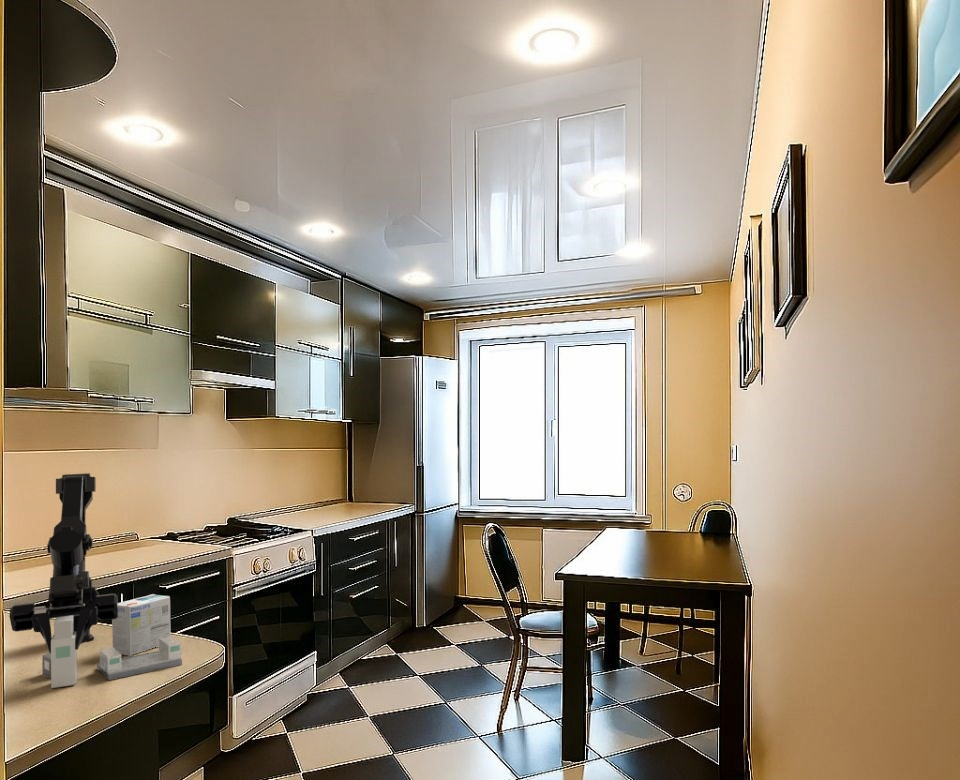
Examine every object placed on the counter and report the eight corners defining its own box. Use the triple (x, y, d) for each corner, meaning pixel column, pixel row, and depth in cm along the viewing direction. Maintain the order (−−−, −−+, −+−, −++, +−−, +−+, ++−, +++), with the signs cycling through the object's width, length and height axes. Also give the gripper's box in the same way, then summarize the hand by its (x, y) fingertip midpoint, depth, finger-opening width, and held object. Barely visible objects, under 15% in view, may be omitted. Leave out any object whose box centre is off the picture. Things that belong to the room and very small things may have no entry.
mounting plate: (97, 668, 154) (96, 646, 154) (167, 653, 163) (167, 633, 163) (108, 680, 146) (108, 658, 146) (182, 664, 155) (181, 643, 155)
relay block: (42, 675, 151) (42, 655, 152) (63, 669, 154) (63, 650, 155) (51, 680, 148) (51, 659, 148) (73, 674, 151) (73, 654, 151)
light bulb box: (153, 639, 174) (153, 593, 175) (172, 643, 171) (171, 595, 171) (110, 652, 165) (110, 603, 165) (129, 656, 162) (128, 606, 162)
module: (53, 680, 146) (53, 617, 147) (76, 677, 148) (76, 614, 148) (51, 688, 142) (50, 623, 142) (75, 684, 144) (74, 620, 144)
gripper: (10, 563, 146) (1, 635, 135) (116, 553, 153) (115, 620, 143) (16, 596, 152) (8, 666, 142) (118, 585, 160) (117, 651, 150)
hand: (63, 650), depth 144 cm, fingers closed on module, 4 cm apart
